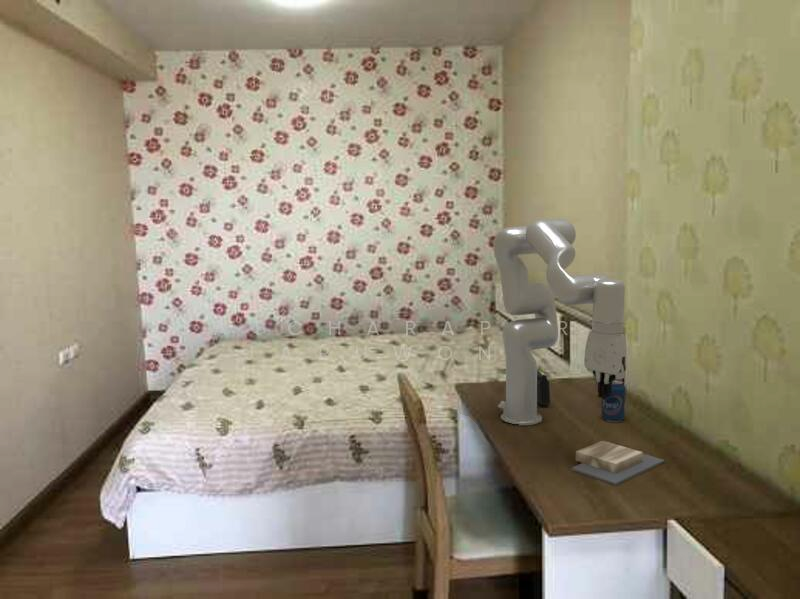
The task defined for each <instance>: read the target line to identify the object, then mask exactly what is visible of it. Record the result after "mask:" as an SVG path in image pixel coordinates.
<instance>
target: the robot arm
mask: <svg viewBox="0 0 800 599" xmlns="http://www.w3.org/2000/svg"><path fill="white" fill-rule="evenodd" d="M576 233H577V232H576V228H575V227H574V225H573V224H572V222H570V221H569V220H568V219H564V218H551V219H548V218H547V219H538V220H537V219H536V220H535V221H532V222H530V223H529V225H528V226H527V225H526V226H525V225H524V226H523V225H521V226H510V227H506V228H502V229H501V230H499V231H498V232H497V234H496V235H495V237H494V240H493V254H494V257H495V261H496V263H497V266H498V270H499V275H500V283H501V292H502V299H503V300H502V301H503V305H504V309H505V311H506V313H507V314H509V315H511V316H524V315H525V316H526V315H534V318H533V317H532V318H524V319H516V320H512V321H509V322H507V323H506V324H505V325H504V326H503V329H502V333H501V334H502V340H503V342H502V343H503V346H504V347H503V348H504V353H505V354H504V355H505V401H504V400H501V401H500V403H499V404H498V405H497V408H498V409H499V410H501V409H502V410H503V413H502V414H501V415H500V420H501V419H502V420H504V421H505V422H509V423H512V424H519V425H518V426H532V425H537V424H539V423H541V422H542V420H543V417H542V415H541V414H540V413H538V401H537V369H538V365H537V364H538V363H537V361H536V359H535V357H534V356H533V354H532V353H531V351H534V350H538V349H539V350H540V349H546V348H547V349H548V348H551V347H553V346H554V345H556V343H557V341H558V339H559V325H558V324H559V323H558V317H557V309H556V308H557V307H556V301H555V297H554V295H555V296H556V297H557V298H558V300H560V302H561V303H563V304H565V305H568V306H577V305H578V306H579V305H580V306H581V305H589V304H590V305H591V304H592V319H591V320H589V321H588V325H589V326H591V330H589V331H588V335H587V338H586V343H585V350H584V356H583V357H584V359H583V360H584V361H583V365H584V368H586V371H587V372H589V373H591V374H593V376H594V377H595V380H596V382H597V393H598V394H597V398H600V399H602V398H603V399H605V398H608V397H610V396H611V390H612V382H614V380H622V379H625V377H626V374H625V372H626V371H627V365H628V352H627V343H626V342H627V341H626V335H625V333H624V334H623V332H624V314H625V311H624V310H625V292H626V291H625V290H626V289H625V288H626V285H625V283H624V281H623V280H620V279H616V278H615V279H614V278H609V277H608V276H606V275H603V274H586V275H572V276H571V275H569V274H568V272H566V269H567V268H568V267H569V266H570V265H571V264H572V263H574V260H575V258H576V249H575V248H574V246H573V244H574V243H575V241H576V237H577V235H576ZM534 254H536V255H538V256H539V257H540V258H541V259H542V260H543V262H544V263H545V264H546V265H547V266H546V271H545V272H546V273H545V275H546V276H545V277H546V281H547V284H546V283H543V282H534V283H533V282H532V283H531V282H530V278H529V271H528V268H527V265H526V264H525V262H524V261H523V260H522V259H521V257H519V256H520V255H534ZM502 420H501V421H502ZM505 422H504V423H505ZM512 424H511V425H512Z"/></svg>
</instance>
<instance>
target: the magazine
mask: <svg viewBox="0 0 800 599" xmlns="http://www.w3.org/2000/svg"><path fill="white" fill-rule="evenodd" d="M537 403H539V404H540V405H543V406H544V405H545V406H546V405H547V406H548V405H551V390H550V382H549V380H548V375H546V374H543V373H541V371H539V370H538V368H537Z"/></svg>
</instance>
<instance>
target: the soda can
mask: <svg viewBox="0 0 800 599" xmlns="http://www.w3.org/2000/svg"><path fill="white" fill-rule="evenodd" d="M601 416H602V418H603V420H605V421H606V422H609V423H610V422H611V423H618V422H619V423H620V422H622V421H623V420H624V418H625V417H626V386H625V383H624V381H623V380H622V379H616V380H614V382H612V390H611V396H610V397H608V398H605V399H603V398H602V397H601Z"/></svg>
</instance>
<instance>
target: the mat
mask: <svg viewBox="0 0 800 599" xmlns="http://www.w3.org/2000/svg"><path fill="white" fill-rule="evenodd" d="M664 463H665V459H662V458H658V457H656V456H652V455H649V454H646V453H643V460H642V462H640V463H638V464H636V465H633V466H631V467H629V468H627V469H625V470H622V471H620V472H618V473H616V474H615V473H612V472H609V471H606V470H603V469H600V468H597V467H594V466H591V465H588V464H585V463H582V462H581V463H579V464H577V465H575V466H573V467H570V471H573V472H576V473H578V474H581V475H584V476H586V477H590V478H593V479H596V480H599V481H602V482H604V483H607V484H610V485H613V486H617V485H619V484H621V483H625V482H626V481H628V480H630V479H632V478H634V477H637V476H638V475H640V474H643V473H644V472H647V471H649V470H651V469H653V468H655V467H657V466H658V467H659V466H660V465H661V464H664Z"/></svg>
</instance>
